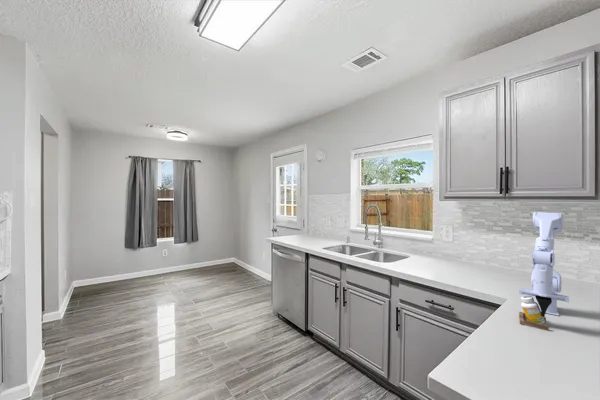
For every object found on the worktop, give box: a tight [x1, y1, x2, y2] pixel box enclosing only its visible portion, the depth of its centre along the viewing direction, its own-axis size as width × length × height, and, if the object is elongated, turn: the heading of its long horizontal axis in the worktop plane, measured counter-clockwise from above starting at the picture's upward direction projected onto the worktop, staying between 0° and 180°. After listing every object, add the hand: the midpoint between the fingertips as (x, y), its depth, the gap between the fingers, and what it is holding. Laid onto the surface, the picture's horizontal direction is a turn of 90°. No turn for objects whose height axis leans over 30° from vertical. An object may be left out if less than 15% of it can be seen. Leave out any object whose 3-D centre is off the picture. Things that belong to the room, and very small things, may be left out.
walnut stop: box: [518, 311, 549, 331], centre depth 108 cm, size 10×8×2 cm
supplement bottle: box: [520, 295, 546, 324], centre depth 108 cm, size 5×5×10 cm
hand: (542, 316), depth 105 cm, fingers closed, pressing on supplement bottle
